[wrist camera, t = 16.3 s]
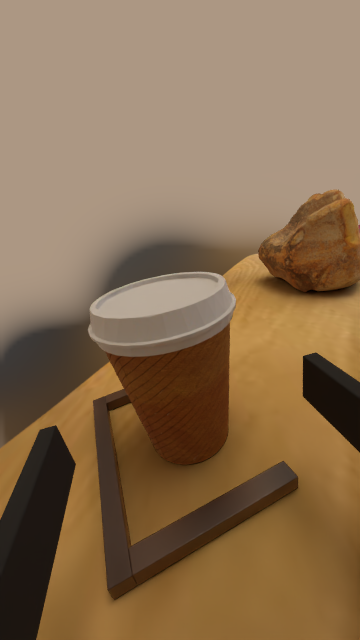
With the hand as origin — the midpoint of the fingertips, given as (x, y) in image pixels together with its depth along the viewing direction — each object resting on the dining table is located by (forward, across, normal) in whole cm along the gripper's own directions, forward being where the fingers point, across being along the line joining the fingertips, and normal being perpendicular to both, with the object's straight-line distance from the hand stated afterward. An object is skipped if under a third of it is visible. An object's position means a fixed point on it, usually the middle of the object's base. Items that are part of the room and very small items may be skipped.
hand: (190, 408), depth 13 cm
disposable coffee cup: (+5, 0, -7) cm, 9 cm away
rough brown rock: (+34, +30, -7) cm, 46 cm away
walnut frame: (+5, -1, -7) cm, 9 cm away
